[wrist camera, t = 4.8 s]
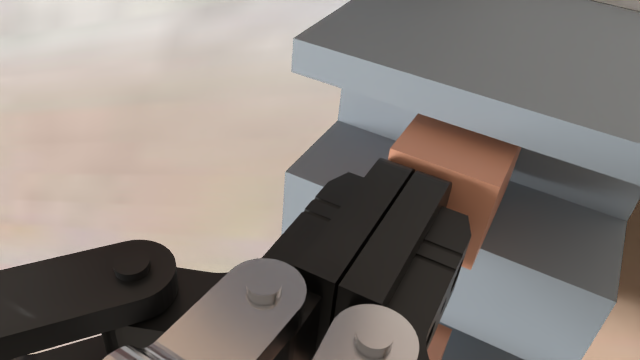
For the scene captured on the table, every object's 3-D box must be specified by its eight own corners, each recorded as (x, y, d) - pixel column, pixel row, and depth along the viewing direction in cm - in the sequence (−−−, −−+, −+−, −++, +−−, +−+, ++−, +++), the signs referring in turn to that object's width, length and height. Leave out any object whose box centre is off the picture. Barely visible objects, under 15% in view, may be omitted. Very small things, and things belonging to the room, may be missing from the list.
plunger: (534, 113, 13) (500, 187, 10) (506, 189, 14) (470, 270, 12) (440, 85, 14) (389, 148, 11) (422, 160, 15) (374, 230, 13)
